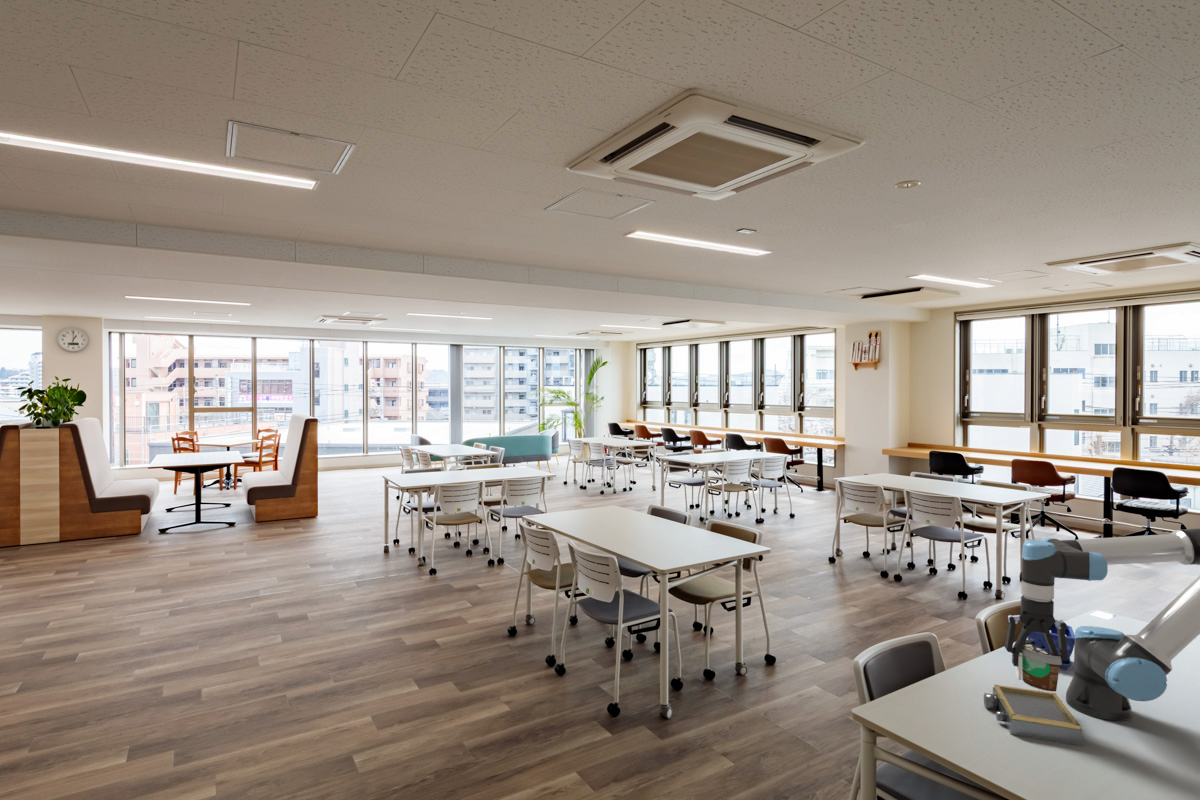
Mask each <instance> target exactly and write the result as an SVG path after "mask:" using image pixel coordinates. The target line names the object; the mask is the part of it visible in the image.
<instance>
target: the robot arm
mask: <svg viewBox="0 0 1200 800" xmlns="http://www.w3.org/2000/svg"><path fill="white" fill-rule="evenodd" d="M1021 552H1022V553H1021V587H1020V588H1021V590H1020V593H1021V596H1020V611H1019V613H1018V614H1017V615H1016V614H1015V615H1012V614H1008V615H1007V620H1008V626H1007V632H1006V636H1005V644H1004V648H1005V650H1006V651H1007V652H1008V653H1011V654H1012V655H1011V657H1012V658H1011V662H1012V665H1013V666H1014V667H1015V676H1016V678H1017V680H1018V681H1019V680H1021V681H1023V678H1022V656H1021V653H1020V652H1021V650H1022V648H1023V646H1024V644H1025V642H1026V640H1028V636H1029V635H1030V633H1031V632H1040V633H1043V634H1044V636H1045V639H1046V641H1047V644H1048V646H1049V649H1050V651H1051V654H1052V656H1061V659H1068V654H1067V645H1066V635H1065V631H1066V627H1067V626H1068V625H1067V623H1066V622H1065V621H1064V620H1062V619H1060V620H1058V619H1055V616H1054V613H1055V611H1054V610H1055V609H1054V607H1055V606H1054V602H1055V601H1053V600H1054V599H1055V581H1056V579H1067V580H1068V579H1069V580H1080V581H1089V582H1092V581H1104V579H1106V577H1107V575H1108V572H1109V571H1108V568H1109V567H1108V566H1109V565H1111V566H1112V565H1127V564H1132V565H1133V564H1149V563H1151V564H1152V563H1154V564H1155V563H1169V562H1170V563H1171V562H1179V563H1180V564H1182V565H1185V566H1188V565H1195V566H1200V527H1199V528H1189V529H1188V528H1187V529H1175V530H1172V532H1171V533H1167V534H1166V533H1165V534H1150V535H1135V536H1133V535H1132V536H1130V535H1129V536H1119V537H1116V536H1114V537H1113V536H1112V537H1100V538H1099V537H1098V538H1085V539H1084V538H1082V539H1081V538H1080V539H1064V540H1063V539H1061V540H1059V539H1058V538H1054V537H1053V538H1052V537H1047V538H1043V539H1041V540H1037V539H1029V540H1026V541H1024V542H1023V545H1022V551H1021ZM1019 621H1021V623H1022V626H1021V630H1020V632H1019V634H1018V636H1017V638H1016V640H1015V642H1014V639H1015V634H1016V633H1015V632H1016V627H1017V624H1018V623H1019ZM1054 624H1055V626H1056V628H1057V634H1058V643H1059V652H1060V653H1058V652H1057V649H1056V647H1055V644H1054V642H1053V639H1052V637H1051V631H1050V630H1049V629H1050V628H1051V627H1052V626H1053V625H1054ZM1074 635H1075V637H1074V639H1075V643H1074V648H1073V652H1074V653H1073V657H1074V658H1073V659H1074V661H1073V677H1072V679H1071V681H1070V683H1069V686H1068V688H1067V690H1066V693H1065V701H1066V704H1067V705H1068V706H1070V707H1071V708H1073V709H1075V710H1076V711H1078V712H1081V713H1082V714H1086V715H1087V716H1092V717H1095V718H1099V719H1103V720H1107V721H1108V720H1109V721H1128V720H1131V718H1132V713H1133V711H1132V709H1133V708H1132V706H1131V703H1130V700H1131V701H1136V702H1148V701H1149V702H1150V701H1153V700H1157V699H1159V697H1161V696H1162V695H1163V694H1164V693H1165V692H1166V690H1167V687H1168V684H1167V682H1168V678H1167V675H1168V674H1170V673H1171V672H1172V671H1173V667H1172V660H1173V659H1174V658H1176V656H1178V655H1179V654H1180V653H1181V652H1183V650H1184V649H1185V648H1186V647H1187V646H1189V645H1190V644H1191V643H1192V642H1193V641H1194V640H1195V639H1197V638H1198V636H1199V635H1200V575H1199V576H1198V577H1196V578H1195V580H1193V581H1192V582H1191V583H1190V584H1188V586H1187V587H1186V588H1184V590H1183V591H1182V592H1180V593H1179V595H1178V594H1177V596H1176V597H1175V598H1174V599H1173V600H1172V601H1171V602H1170V603H1169V604H1168V605H1167V606H1165V608H1163V610H1161V611H1160V612H1159V613H1158V614H1157V615H1156V616H1155V617H1154V618H1153V619H1152V620H1151V621H1150V622H1149V623H1147V624H1146V625H1145V626H1144V627H1143V628H1141V630H1140V631H1139V632H1137V633H1136V634H1125V633H1123V631H1119V630H1116V629H1112V628H1107V627H1100V626H1094V625H1093V626H1092V625H1081V626H1077V628H1076V629H1075V632H1074Z"/></svg>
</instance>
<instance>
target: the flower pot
mask: <svg viewBox="0 0 1200 800" xmlns="http://www.w3.org/2000/svg"><path fill="white" fill-rule="evenodd" d="M1049 631H1050V633H1051V637H1052V639H1053V642H1054V644H1055V647H1056V649H1057V652H1058V653H1060V652H1059V643H1058V634H1057V628H1056V626H1055V624H1054V625H1053V626H1052V627H1051V628H1050V629H1049ZM1065 636H1066V645H1067V654H1068V659H1061V662H1062V665H1060V667H1059V669H1062V670H1069V669H1070V668H1071V667H1072V663H1071V655H1072V654H1073V652H1074V643H1075V639H1074V637H1075V632H1074V630H1073V626H1070V625H1067V627H1066V631H1065ZM1027 640H1031V644H1033V645H1035V646H1036V647H1039V648H1042V649H1044V650H1046V651H1047V652H1048V653H1050V654H1051V651H1050V649H1049V646H1048V644H1047V641H1046V639H1045V636H1044V634H1043V633H1040V632H1031V633H1030V635H1029V636H1028V638H1027ZM1051 655H1052V654H1051Z"/></svg>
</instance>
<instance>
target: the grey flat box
mask: <svg viewBox="0 0 1200 800" xmlns="http://www.w3.org/2000/svg"><path fill="white" fill-rule="evenodd" d="M1060 698H1061V697H1059V696H1058V694H1057V693H1056V692H1051V691H1044V690H1035V689H1029V688H1023V687H1022V688H1021V687H1014V686H1008V685H1007V686H1006V685H1000V684H994V685H993V686H992V693H988V692H984V694H983V705H984V707H985V709H990V710H996V711H995V719H996V721H997V722H1003V723H1004V725H1005V726H1006V729H1007V731H1008V733H1009V734H1010V735H1014V736H1018V737H1025V738H1031V739H1036V740H1037V739H1038V740H1043V741H1047V742H1048V741H1050V742H1054V743H1060V744H1061V743H1062V744H1067V745H1073V746H1074V745H1075V746H1080V747H1082V746H1083V729H1082V728H1081V725H1080V723H1079V722H1078V721H1077V720H1076V718H1075V717H1074V716H1073V714H1072V713H1071V712H1070V710H1069V709H1068V708H1067V706H1066V705H1065V703H1064V702H1063V701H1062V699H1060Z"/></svg>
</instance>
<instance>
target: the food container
mask: <svg viewBox="0 0 1200 800" xmlns="http://www.w3.org/2000/svg"><path fill="white" fill-rule="evenodd" d="M1020 654H1021V656H1022V682H1024V683H1025V684H1026V685H1028V686H1029V687H1033V688H1034V689H1038V690H1040V691H1045V692H1053V693H1056V692H1057V687H1058V681H1059V674H1060V673H1059V672H1060V668H1059V667H1060V665H1062V662H1061V656H1052V655H1051V654H1050V653H1048V652H1047V651H1046V650H1044V649H1042V648H1039V647H1036V646H1035V645H1033V644H1031V640H1028V639H1027V640H1026V642H1025V644H1024V646H1023V648H1022V650H1021V652H1020Z"/></svg>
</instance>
